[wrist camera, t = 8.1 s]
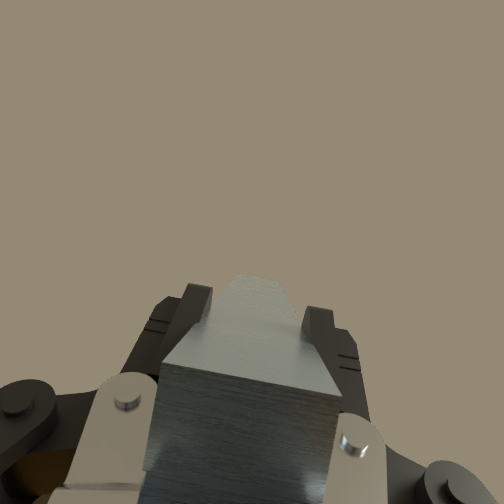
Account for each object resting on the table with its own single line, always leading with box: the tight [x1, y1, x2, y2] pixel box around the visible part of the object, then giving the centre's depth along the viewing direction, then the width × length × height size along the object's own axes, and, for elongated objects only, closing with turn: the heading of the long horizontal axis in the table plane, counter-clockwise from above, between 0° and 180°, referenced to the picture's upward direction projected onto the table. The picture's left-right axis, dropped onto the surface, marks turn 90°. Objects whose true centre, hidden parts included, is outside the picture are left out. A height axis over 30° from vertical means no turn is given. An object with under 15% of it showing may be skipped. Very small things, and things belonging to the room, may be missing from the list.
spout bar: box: [142, 274, 342, 504], centre depth 17 cm, size 22×3×3 cm, turn 179°
